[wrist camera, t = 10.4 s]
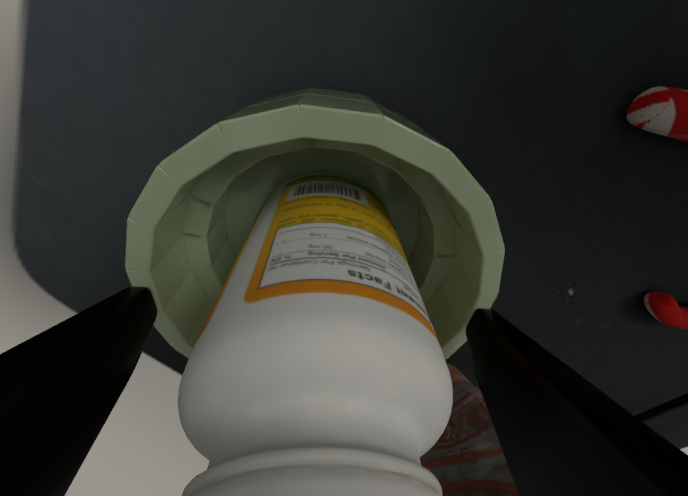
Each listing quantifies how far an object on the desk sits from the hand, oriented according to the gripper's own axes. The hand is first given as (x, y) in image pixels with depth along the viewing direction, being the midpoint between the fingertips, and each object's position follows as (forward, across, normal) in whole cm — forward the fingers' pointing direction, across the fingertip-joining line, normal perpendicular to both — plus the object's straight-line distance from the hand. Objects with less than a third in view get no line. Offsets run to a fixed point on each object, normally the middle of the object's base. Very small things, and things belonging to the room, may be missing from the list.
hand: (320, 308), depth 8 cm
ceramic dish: (+5, 0, 0) cm, 5 cm away
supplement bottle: (+4, 0, 0) cm, 4 cm away
